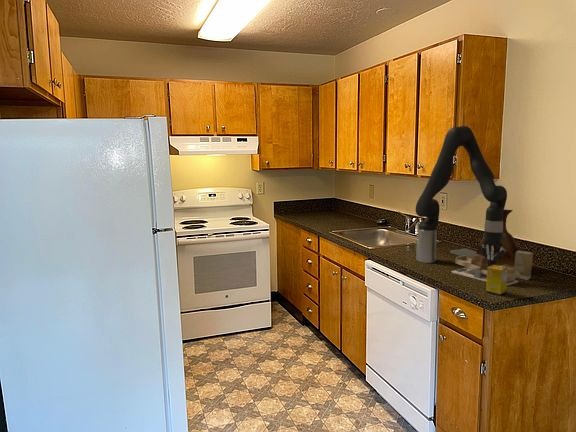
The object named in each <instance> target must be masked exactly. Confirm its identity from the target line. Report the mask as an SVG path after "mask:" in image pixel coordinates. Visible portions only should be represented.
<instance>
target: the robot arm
mask: <svg viewBox="0 0 576 432" xmlns="http://www.w3.org/2000/svg"><path fill="white" fill-rule="evenodd" d="M442 143H443V144H442V146H441V150H440V153H439V154H438V158H437V160H436V161H435V162H436V163H434V167H433V168H432V171H431V174H430V176H429V179H428V180H427V183H426V185H425V187H424V190H423V191H422V193H421V195H420V196H419V198H418V200H417V202H416V204H415V214H416V215H417V216H418V217H419V218H420V217H421V218H425V219H424V220H423V221H422V222H419V223H418V228H417V229H418V230H417V231H418V233H417V235H418V236H417V242H416V251H415V260H416V261H417V262H420V263H426V264H431V263H435V262H436V261H437V257H436V255H437V232H438V231H437V230H438V226H439V220H440V204H439V201H438V200H437V199H435V197H436V195H438V194H439V193H440V192H441V191H442V190H443V189H444V188H446V186H447V185H448V183H449V182H450V180H451V179H452V175H453V173H454V162H453V161H454V157H455V154H456V152H457V150H458V149H459V148H460V147H462V148H464V149H465V151H466V152H467V154H468V158H469V164H470V169H471V170H470V171H472V174H473V175H474V177H475V179H476V181H477V182H478V183H479V187H480V189H481V194H482V195H483V197H484V199H486V201H487V202H489V206H488V207H487V208H486V210H485V221H484V230H483V232H484V233H483V237H484V242H483V244H482V245H480V246H479V245H478V246H477V248H478V247H479V249H480V251H481V252H482V254H483V256H484V257H486V258H487V259H488V267H490V266H492V265H495V260H497V259H500V258H501V257H502V256H503V255H504V254H505V253H506V252H507V250H506V249H504V248H503V247H502V235H503V210H504V209H505V207H506V202H507V199H508V192H507V189H506V188H505V187H504V186H503V185H497V184H496V183H495V180H494V179H495V178H496V177H495V174H494V172H493V171H492V169H491V168H490V166H489V165H488V163H487V162H486V159H485V158H484V155H483V153H482V151H481V149H480V146H479V145H478V142H477V139H476V137H475V135H474V132H473V131H472V128H470V127H469V126H468V125H467V126H466V125H461V126H460V125H459V126H454V127H451V128H449V129H448V130H447V132H446V134H445V137H444V140H443V142H442ZM485 248H486V249H485ZM499 250H500V251H499ZM498 251H499V252H500V253H499V254H498ZM497 254H498V255H497Z"/></svg>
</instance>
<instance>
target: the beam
mask: <svg viewBox="0 0 576 432" xmlns="http://www.w3.org/2000/svg"><path fill="white" fill-rule="evenodd" d="M471 261H472V259H470V258H467V257H466V255H463V256H456V257H455V258H454V263H455V264H457V265H460V266H461V267H462V266H463V268H467V269H471V270H480V271H481V273H483V274H486V275H487V267H488V265H487V264H486V267H485V268H481V267H479V266H476V265H473V264H471ZM501 266H503V267H508V271H507V282H509V281H512V280H516V278H515V277H514V273H515V268H516V267H513V266H510V265H507V264H505V265H501Z"/></svg>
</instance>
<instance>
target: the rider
mask: <svg viewBox="0 0 576 432" xmlns="http://www.w3.org/2000/svg"><path fill="white" fill-rule="evenodd" d="M486 262H487V258H486V257H484V256H482V255H479V254H475V255H472V261H471V264H473V265H476V266H479V267H481V268H485V267H486Z"/></svg>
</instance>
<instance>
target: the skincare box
mask: <svg viewBox="0 0 576 432" xmlns="http://www.w3.org/2000/svg"><path fill="white" fill-rule="evenodd" d="M533 254H534V253H533V252H530V251H524V250H520V251H517V252H516V255H515V265H514V267H516V268H515V273H514V277H515V279H521V280H525V281H528V280H530V279H531V275H532V267H533V265H532V264H533V258H534V255H533Z"/></svg>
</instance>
